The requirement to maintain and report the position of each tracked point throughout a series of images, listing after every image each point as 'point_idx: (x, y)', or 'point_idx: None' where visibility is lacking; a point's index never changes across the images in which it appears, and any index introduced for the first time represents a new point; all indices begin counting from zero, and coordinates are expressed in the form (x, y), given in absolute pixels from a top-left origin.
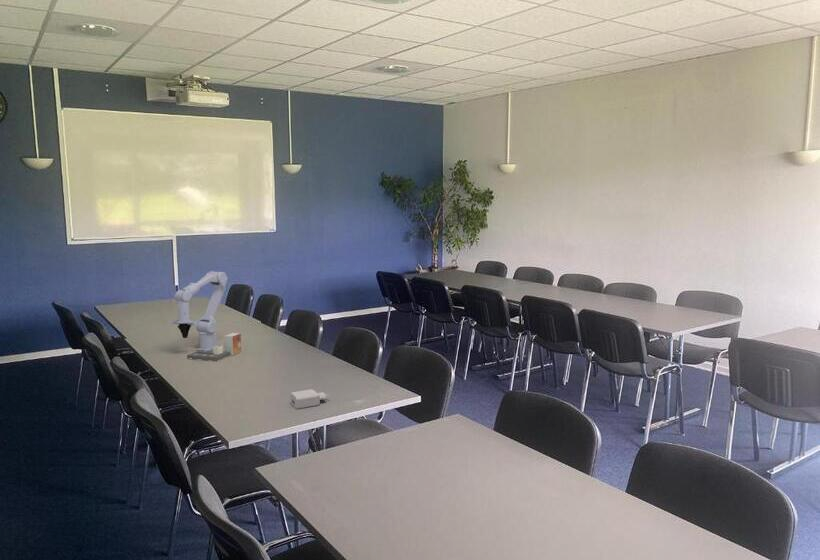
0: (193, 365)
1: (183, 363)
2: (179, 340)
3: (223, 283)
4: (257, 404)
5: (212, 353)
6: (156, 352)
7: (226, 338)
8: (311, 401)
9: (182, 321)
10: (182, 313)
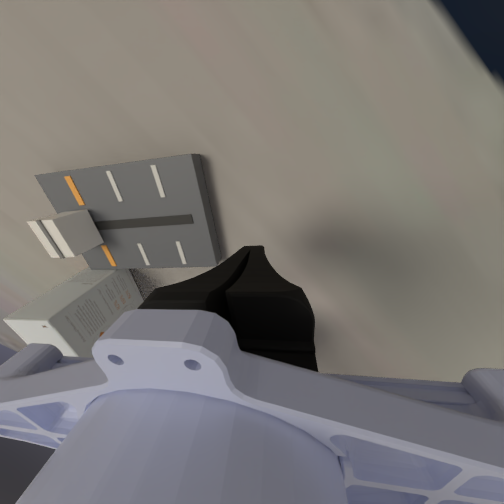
0: (50, 41)
1: (134, 52)
2: (443, 376)
3: None
4: None
5: (114, 225)
6: (468, 204)
7: (46, 309)
8: None
9: (113, 408)
10: None
